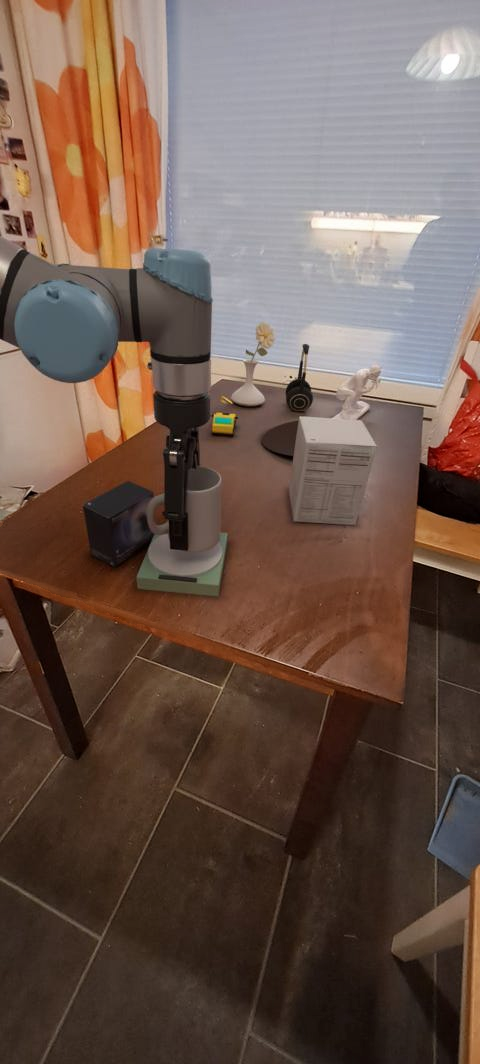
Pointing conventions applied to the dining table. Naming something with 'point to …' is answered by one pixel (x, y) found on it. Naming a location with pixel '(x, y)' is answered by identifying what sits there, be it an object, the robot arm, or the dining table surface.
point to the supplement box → (330, 470)
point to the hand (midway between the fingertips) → (185, 530)
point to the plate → (281, 438)
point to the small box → (118, 523)
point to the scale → (182, 568)
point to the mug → (196, 510)
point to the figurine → (356, 393)
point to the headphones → (300, 388)
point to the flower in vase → (248, 391)
